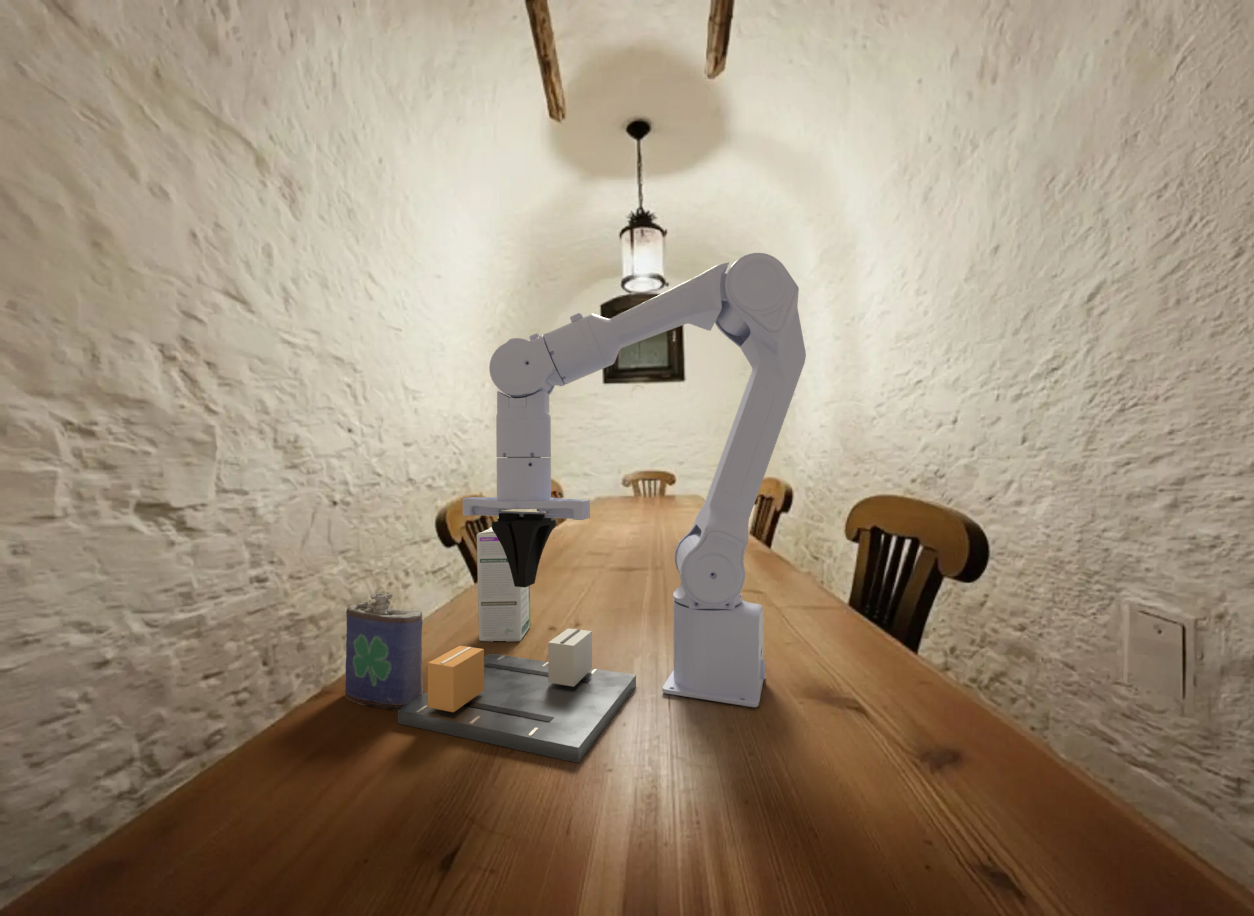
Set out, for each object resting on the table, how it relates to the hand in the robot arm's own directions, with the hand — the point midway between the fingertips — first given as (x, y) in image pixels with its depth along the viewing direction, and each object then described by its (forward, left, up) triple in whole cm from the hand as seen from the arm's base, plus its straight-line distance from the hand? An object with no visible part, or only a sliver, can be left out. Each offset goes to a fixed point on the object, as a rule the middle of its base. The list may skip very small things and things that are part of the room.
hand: (524, 585), depth 53 cm
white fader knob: (-5, 0, -9) cm, 10 cm away
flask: (+12, +8, -11) cm, 18 cm away
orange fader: (+2, +8, -9) cm, 12 cm away
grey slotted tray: (-2, +4, -10) cm, 11 cm away
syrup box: (+10, -12, -11) cm, 19 cm away
